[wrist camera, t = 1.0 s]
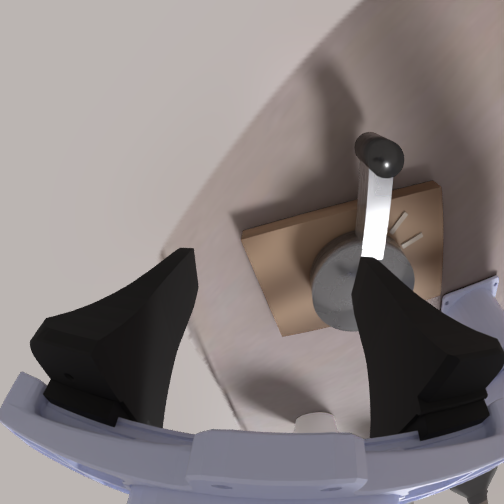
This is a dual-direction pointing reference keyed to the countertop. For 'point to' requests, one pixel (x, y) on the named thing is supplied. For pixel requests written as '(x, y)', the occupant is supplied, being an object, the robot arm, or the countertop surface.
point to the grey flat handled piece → (361, 235)
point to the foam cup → (315, 423)
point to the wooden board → (326, 229)
